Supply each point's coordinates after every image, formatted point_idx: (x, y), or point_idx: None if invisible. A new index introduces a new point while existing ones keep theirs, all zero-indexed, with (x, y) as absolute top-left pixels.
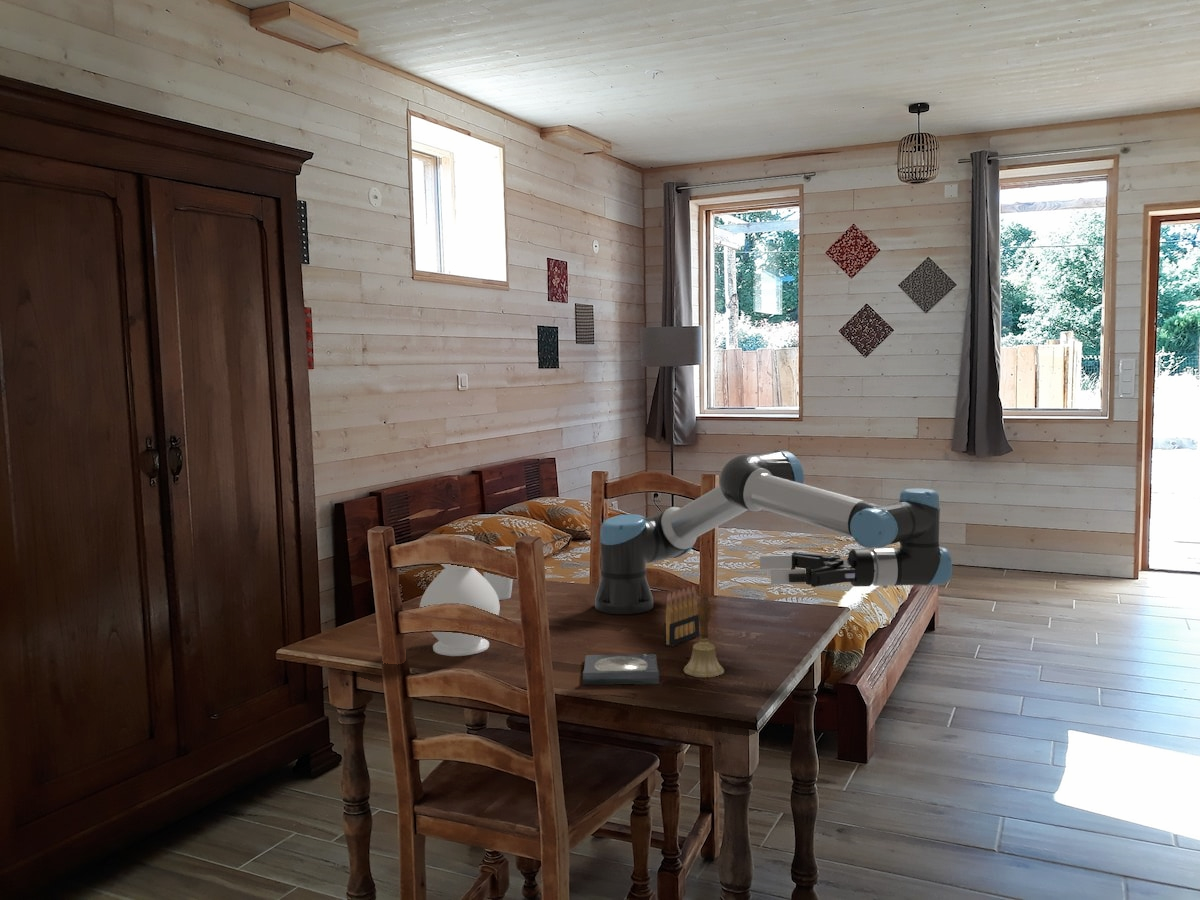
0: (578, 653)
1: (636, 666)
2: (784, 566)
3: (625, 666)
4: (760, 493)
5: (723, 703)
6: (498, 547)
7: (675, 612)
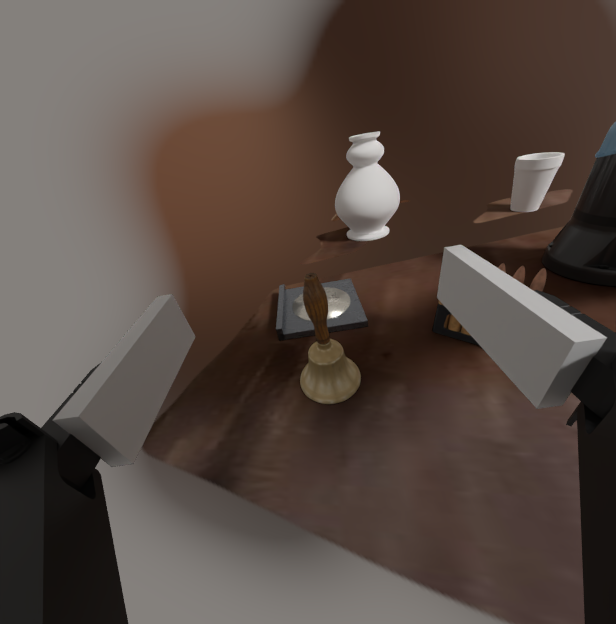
0: (372, 275)
1: None
2: (506, 362)
3: None
4: None
5: (199, 409)
6: (554, 153)
7: None
